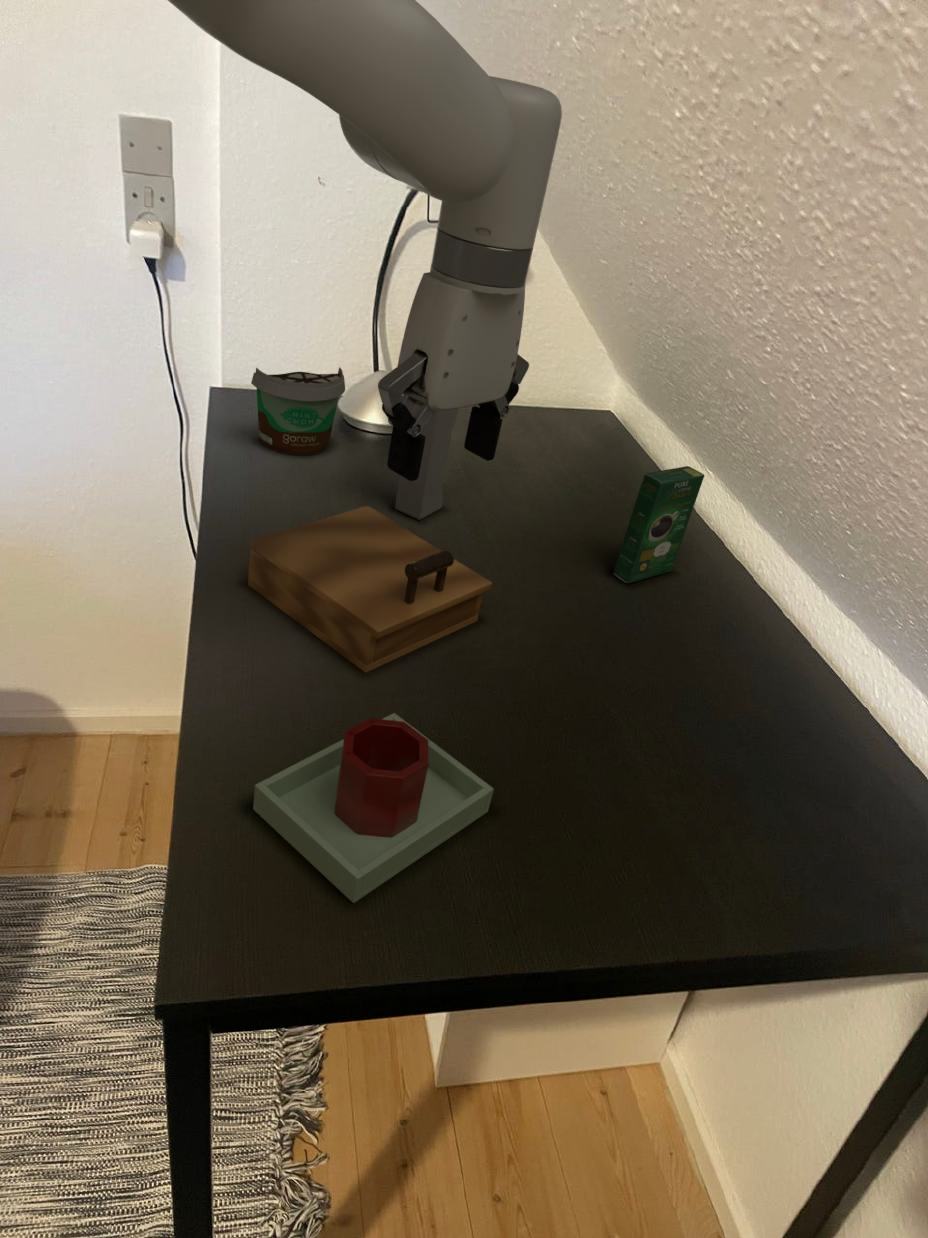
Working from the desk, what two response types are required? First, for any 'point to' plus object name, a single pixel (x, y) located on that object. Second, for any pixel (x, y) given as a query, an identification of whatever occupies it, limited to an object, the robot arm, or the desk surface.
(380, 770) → the red octagonal tube
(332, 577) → the lid
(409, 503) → the vintage mobile phone
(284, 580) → the chest
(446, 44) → the robot arm
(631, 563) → the coffee box
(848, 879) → the desk surface
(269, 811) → the tray
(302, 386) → the food container
